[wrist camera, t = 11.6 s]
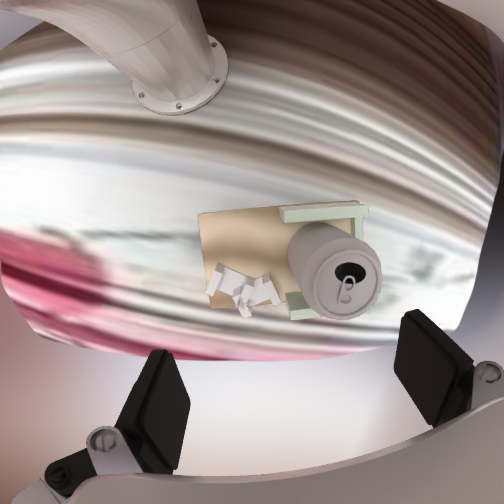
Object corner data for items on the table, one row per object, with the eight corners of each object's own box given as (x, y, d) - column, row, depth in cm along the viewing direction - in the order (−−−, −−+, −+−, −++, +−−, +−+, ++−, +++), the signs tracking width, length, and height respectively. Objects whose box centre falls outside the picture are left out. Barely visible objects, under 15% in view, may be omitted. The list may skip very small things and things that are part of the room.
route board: (199, 213, 32) (197, 214, 31) (356, 200, 32) (359, 201, 31) (212, 305, 35) (211, 308, 34) (356, 290, 35) (359, 293, 34)
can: (352, 228, 32) (400, 251, 20) (336, 285, 33) (373, 331, 22) (293, 215, 31) (318, 232, 20) (280, 275, 33) (294, 322, 21)
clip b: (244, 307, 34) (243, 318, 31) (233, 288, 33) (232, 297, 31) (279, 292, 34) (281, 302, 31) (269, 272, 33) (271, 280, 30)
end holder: (278, 206, 31) (283, 210, 26) (357, 201, 31) (374, 204, 26) (285, 302, 34) (290, 320, 29) (357, 292, 34) (371, 308, 29)
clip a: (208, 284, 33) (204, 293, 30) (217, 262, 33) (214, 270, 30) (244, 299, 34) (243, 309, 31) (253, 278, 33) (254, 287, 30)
